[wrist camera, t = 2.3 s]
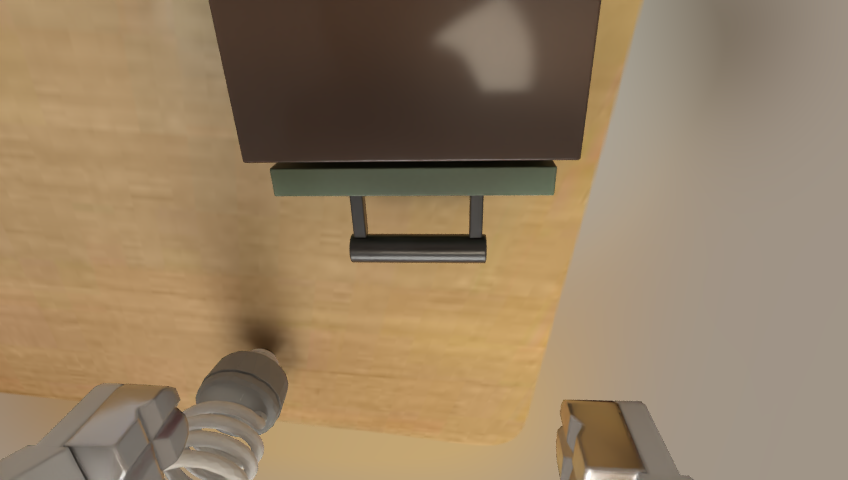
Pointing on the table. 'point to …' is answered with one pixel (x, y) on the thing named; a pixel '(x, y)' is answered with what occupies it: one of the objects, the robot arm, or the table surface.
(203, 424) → the light bulb
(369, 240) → the drawer
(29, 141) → the table surface
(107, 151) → the table surface
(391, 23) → the cabinet
